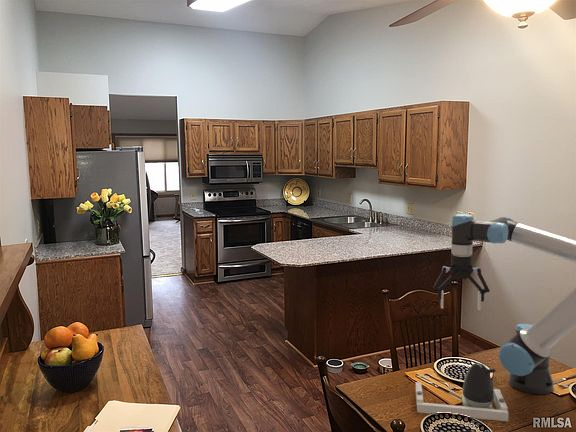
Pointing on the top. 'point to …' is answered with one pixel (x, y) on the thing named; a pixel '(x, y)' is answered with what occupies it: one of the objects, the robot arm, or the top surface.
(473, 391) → the dark grey tapered dome
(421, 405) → the track
